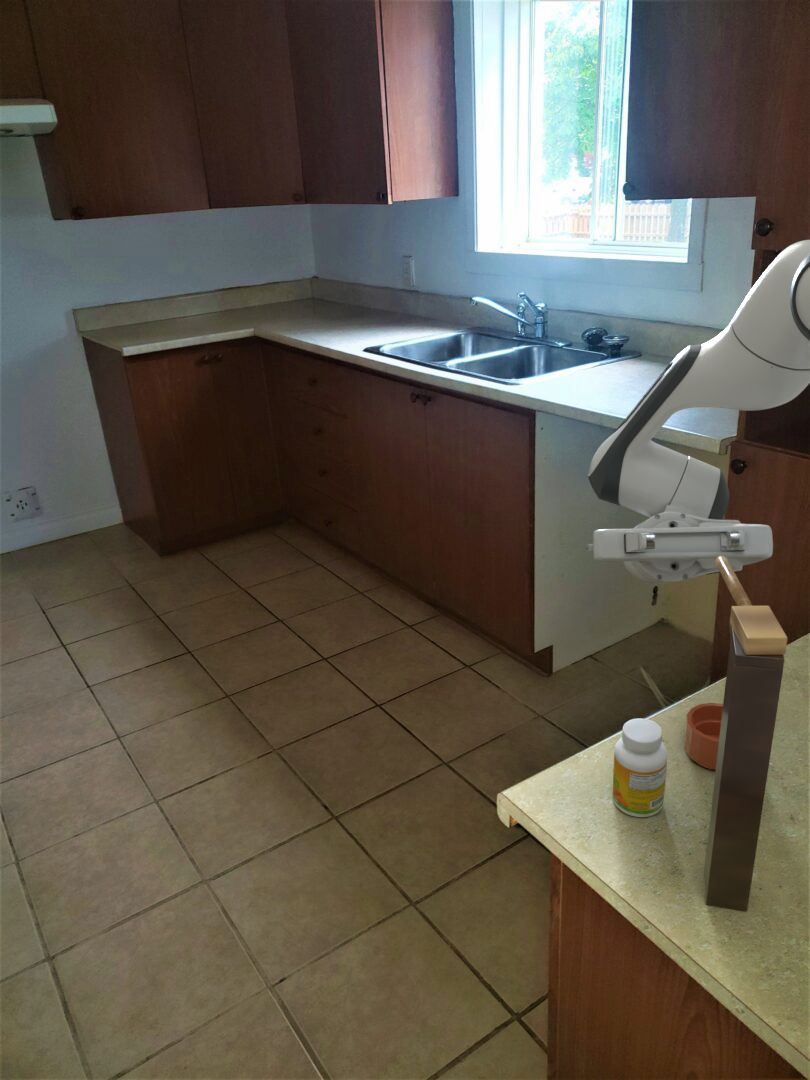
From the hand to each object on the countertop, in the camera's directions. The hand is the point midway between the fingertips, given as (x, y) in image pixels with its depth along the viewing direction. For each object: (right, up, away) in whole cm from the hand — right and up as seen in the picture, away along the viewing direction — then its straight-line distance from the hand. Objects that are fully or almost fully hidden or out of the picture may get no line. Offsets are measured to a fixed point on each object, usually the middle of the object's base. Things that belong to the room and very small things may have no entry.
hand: (692, 539), depth 89 cm
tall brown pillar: (-1, -34, -12) cm, 36 cm away
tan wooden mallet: (-2, -6, -19) cm, 20 cm away
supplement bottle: (-6, -29, 0) cm, 29 cm away
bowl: (+5, -25, +5) cm, 26 cm away
